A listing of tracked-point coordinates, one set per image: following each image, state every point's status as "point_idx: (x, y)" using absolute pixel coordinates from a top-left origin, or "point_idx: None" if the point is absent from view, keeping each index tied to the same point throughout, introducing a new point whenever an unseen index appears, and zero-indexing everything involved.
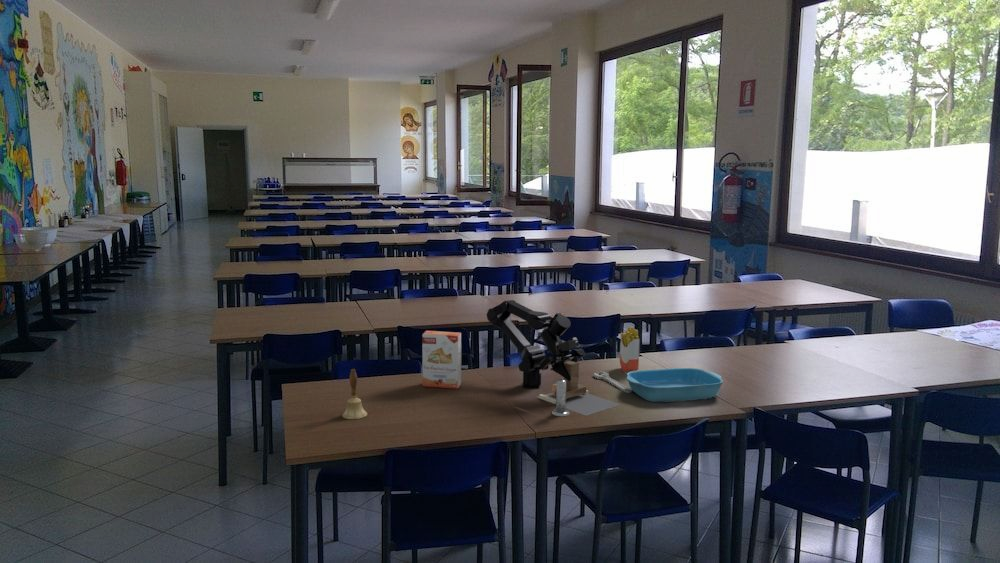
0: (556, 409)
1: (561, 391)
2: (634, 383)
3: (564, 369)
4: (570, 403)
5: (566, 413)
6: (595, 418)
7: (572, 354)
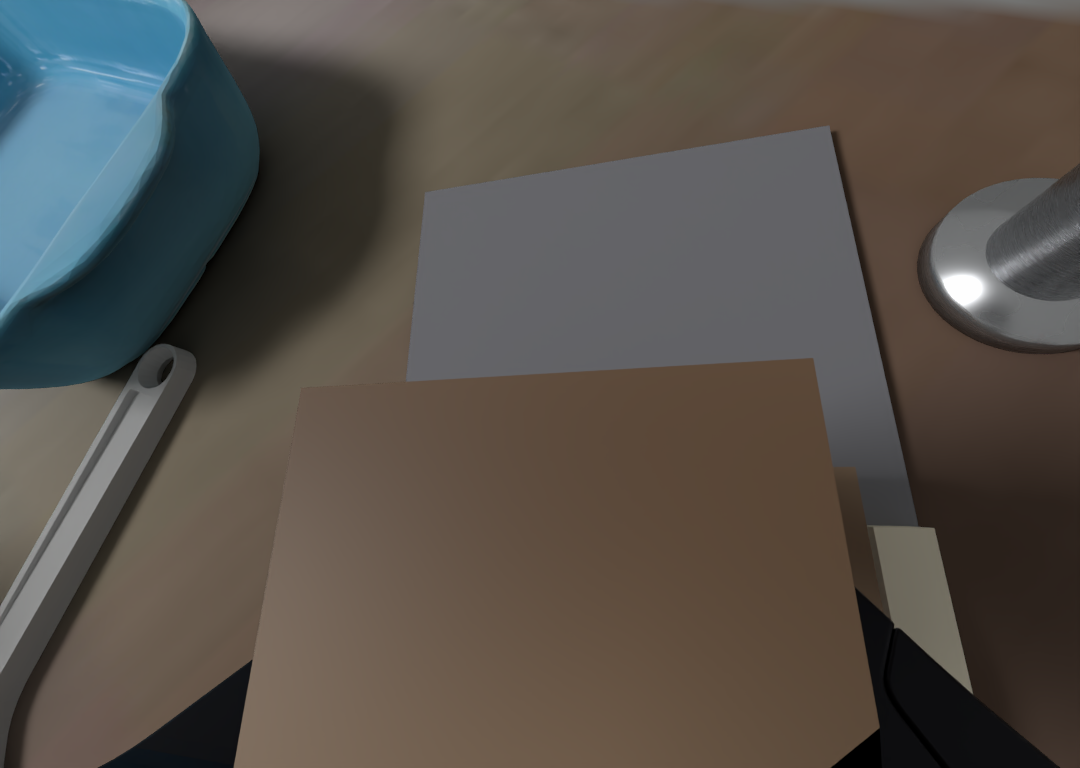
0: None
1: None
2: (172, 135)
3: (943, 693)
4: None
5: (1014, 193)
6: (776, 86)
7: None
